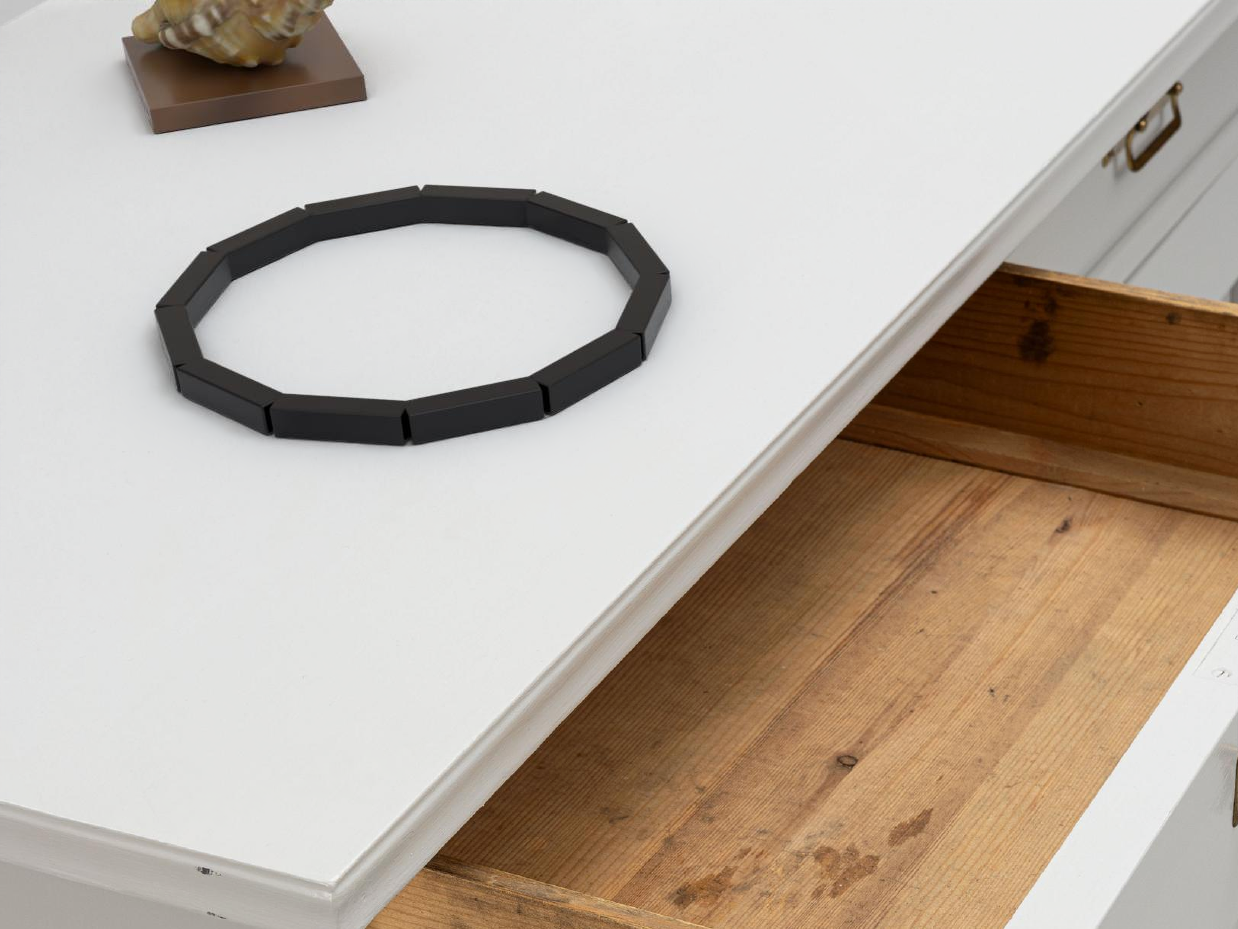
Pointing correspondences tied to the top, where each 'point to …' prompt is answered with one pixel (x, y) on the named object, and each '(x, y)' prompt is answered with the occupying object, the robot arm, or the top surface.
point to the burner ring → (433, 412)
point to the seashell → (230, 27)
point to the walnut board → (242, 81)
